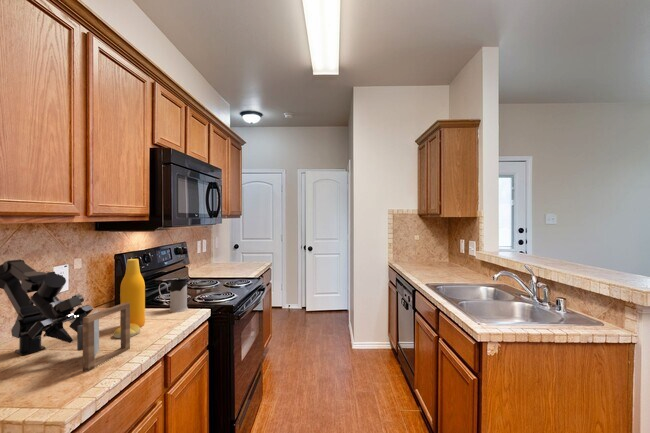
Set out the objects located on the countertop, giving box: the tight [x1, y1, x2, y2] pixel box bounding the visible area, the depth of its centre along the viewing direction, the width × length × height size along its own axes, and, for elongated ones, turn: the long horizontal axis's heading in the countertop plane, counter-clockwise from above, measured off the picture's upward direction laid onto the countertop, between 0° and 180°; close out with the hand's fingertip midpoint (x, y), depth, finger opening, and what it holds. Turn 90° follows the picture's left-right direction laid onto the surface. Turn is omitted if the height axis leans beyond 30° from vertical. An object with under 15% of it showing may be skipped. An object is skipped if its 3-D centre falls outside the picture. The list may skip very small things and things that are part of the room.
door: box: [76, 310, 100, 358], centre depth 105 cm, size 6×12×14 cm, turn 22°
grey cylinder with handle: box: [158, 278, 189, 313], centre depth 161 cm, size 9×14×15 cm, turn 94°
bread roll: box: [113, 324, 142, 339], centre depth 128 cm, size 8×9×4 cm
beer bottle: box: [119, 258, 146, 328], centre depth 137 cm, size 9×9×29 cm
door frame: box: [82, 303, 131, 372], centre depth 106 cm, size 2×17×16 cm, turn 172°
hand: (78, 338), depth 106 cm, fingers open, 5 cm apart
